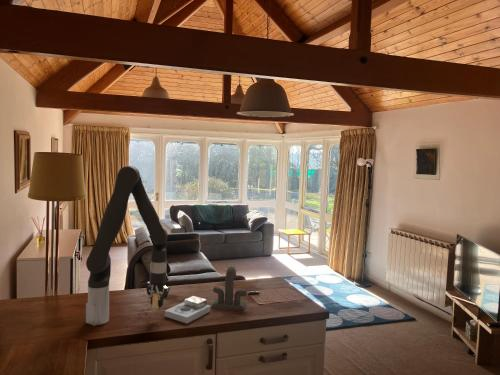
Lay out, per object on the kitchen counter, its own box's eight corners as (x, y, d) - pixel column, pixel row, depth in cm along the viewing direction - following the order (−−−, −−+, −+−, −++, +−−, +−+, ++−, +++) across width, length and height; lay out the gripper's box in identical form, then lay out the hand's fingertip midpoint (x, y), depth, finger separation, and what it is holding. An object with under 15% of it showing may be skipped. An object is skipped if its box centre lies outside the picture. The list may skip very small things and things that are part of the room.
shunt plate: (198, 308, 196) (198, 303, 195) (184, 304, 200) (184, 299, 200) (206, 304, 201) (206, 299, 201) (193, 300, 206) (193, 295, 206)
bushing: (156, 311, 185) (157, 294, 184) (150, 309, 187) (151, 293, 186) (162, 309, 188) (163, 292, 187) (156, 307, 190) (157, 290, 190)
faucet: (248, 299, 219) (249, 264, 217) (245, 310, 203) (246, 272, 202) (216, 297, 221) (217, 262, 219) (210, 307, 205) (211, 270, 203)
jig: (186, 323, 185) (187, 317, 185) (164, 316, 192) (164, 310, 192) (210, 311, 200) (210, 305, 200) (188, 305, 207) (189, 299, 207)
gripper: (175, 271, 186) (173, 307, 187) (153, 265, 193) (151, 300, 194) (163, 275, 179) (162, 311, 180) (141, 269, 186) (140, 304, 188)
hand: (156, 305), depth 187 cm, fingers closed on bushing, 4 cm apart
